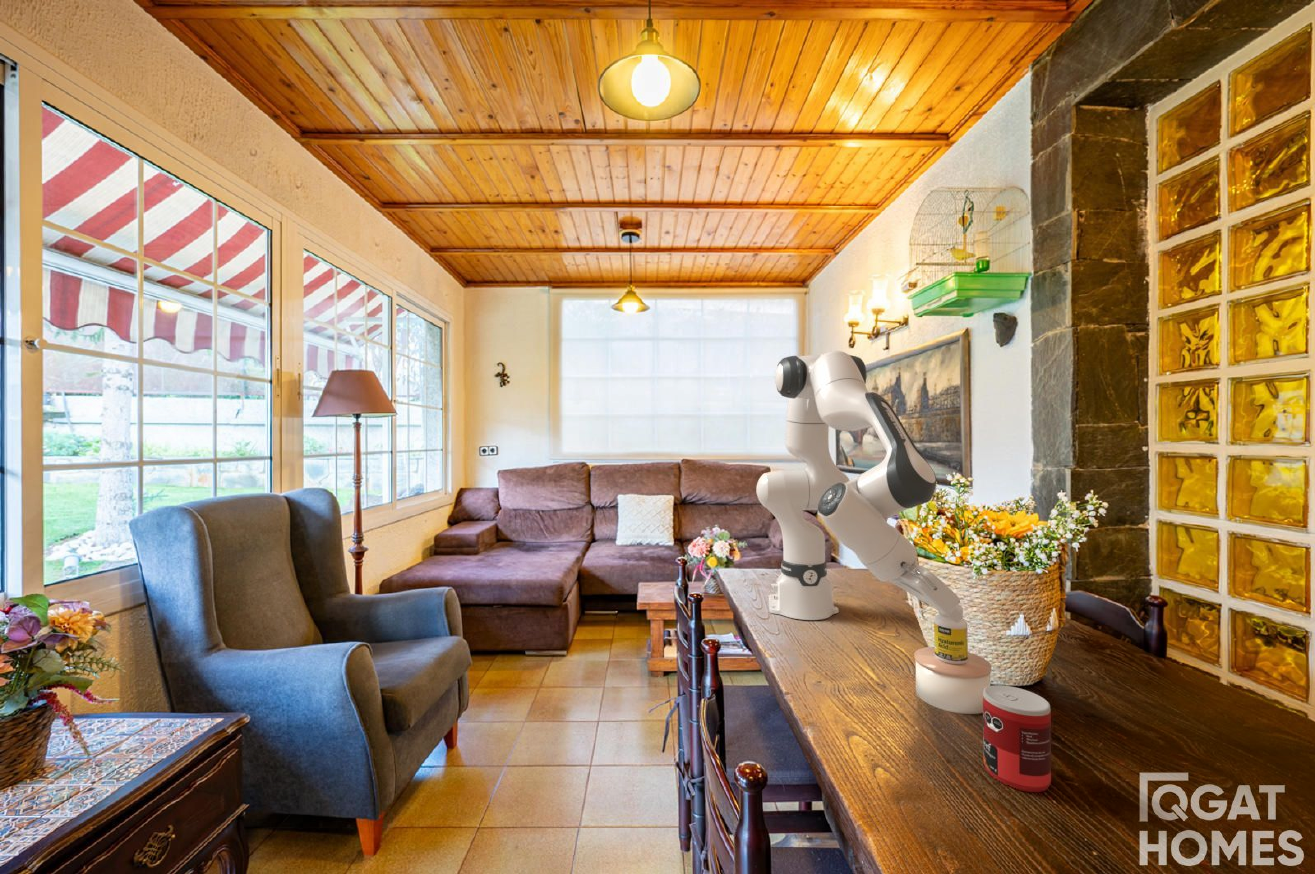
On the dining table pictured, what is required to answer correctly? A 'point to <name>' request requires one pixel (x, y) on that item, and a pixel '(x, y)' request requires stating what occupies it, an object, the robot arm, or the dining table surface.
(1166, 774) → the dining table surface
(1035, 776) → the canned food
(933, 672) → the ceramic canister
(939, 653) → the supplement bottle
